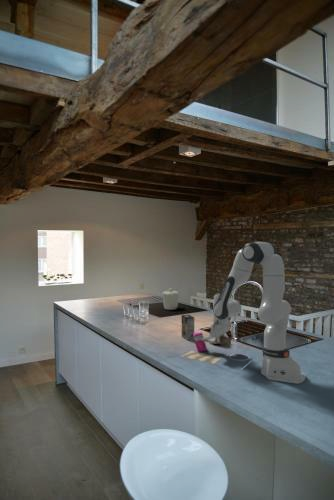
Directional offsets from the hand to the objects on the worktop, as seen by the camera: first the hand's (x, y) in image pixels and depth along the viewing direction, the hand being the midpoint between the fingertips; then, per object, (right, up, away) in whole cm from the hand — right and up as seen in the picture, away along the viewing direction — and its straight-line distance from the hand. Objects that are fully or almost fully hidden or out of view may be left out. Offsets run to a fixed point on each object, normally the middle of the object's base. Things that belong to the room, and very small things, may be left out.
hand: (220, 341), depth 211 cm
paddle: (-2, -1, +1) cm, 3 cm away
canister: (-29, -4, +138) cm, 141 cm away
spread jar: (+3, -8, +25) cm, 26 cm away
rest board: (-12, -9, -5) cm, 16 cm away
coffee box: (-18, -8, +37) cm, 42 cm away
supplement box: (-10, -8, +7) cm, 15 cm away
